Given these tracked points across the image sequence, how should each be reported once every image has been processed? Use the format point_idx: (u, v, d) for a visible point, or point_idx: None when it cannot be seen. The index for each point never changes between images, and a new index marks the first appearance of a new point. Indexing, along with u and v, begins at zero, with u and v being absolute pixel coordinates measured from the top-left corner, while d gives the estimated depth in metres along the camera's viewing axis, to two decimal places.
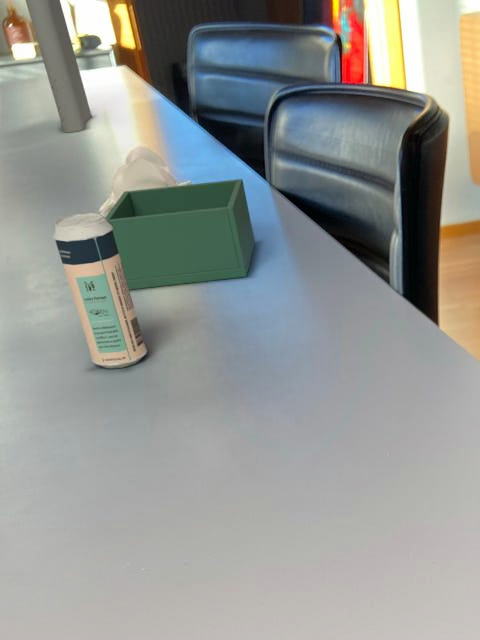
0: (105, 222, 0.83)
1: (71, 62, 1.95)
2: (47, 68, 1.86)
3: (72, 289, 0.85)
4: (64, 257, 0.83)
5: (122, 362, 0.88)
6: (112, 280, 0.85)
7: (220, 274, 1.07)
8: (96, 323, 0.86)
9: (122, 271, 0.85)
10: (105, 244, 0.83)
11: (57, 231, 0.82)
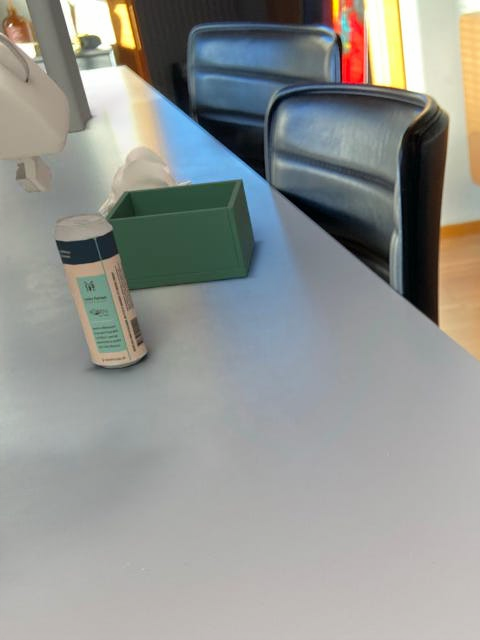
0: (105, 222, 0.83)
1: (71, 62, 1.95)
2: (47, 68, 1.86)
3: (72, 289, 0.85)
4: (64, 257, 0.83)
5: (122, 362, 0.88)
6: (112, 280, 0.85)
7: (220, 274, 1.07)
8: (96, 323, 0.86)
9: (122, 271, 0.85)
10: (105, 244, 0.83)
11: (57, 231, 0.82)
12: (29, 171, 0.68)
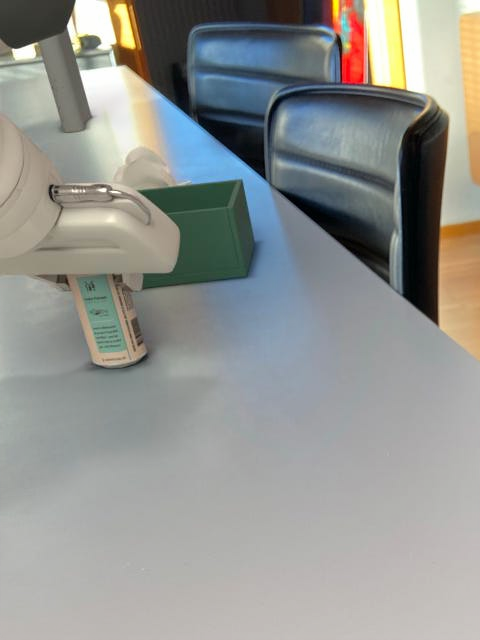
0: None
1: (71, 62, 1.95)
2: (47, 68, 1.86)
3: (72, 289, 0.85)
4: None
5: (122, 362, 0.88)
6: (112, 280, 0.85)
7: (220, 274, 1.07)
8: (96, 323, 0.86)
9: None
10: None
11: None
12: (125, 279, 0.83)
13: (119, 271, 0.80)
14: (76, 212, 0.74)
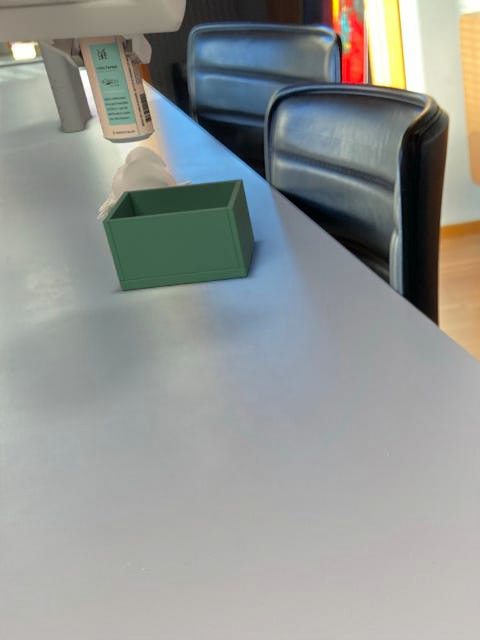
0: None
1: None
2: (47, 68, 1.86)
3: (85, 59, 0.91)
4: None
5: (131, 135, 0.94)
6: (123, 50, 0.90)
7: (220, 274, 1.07)
8: (107, 93, 0.92)
9: None
10: None
11: None
12: (135, 46, 0.89)
13: (129, 30, 0.86)
14: None
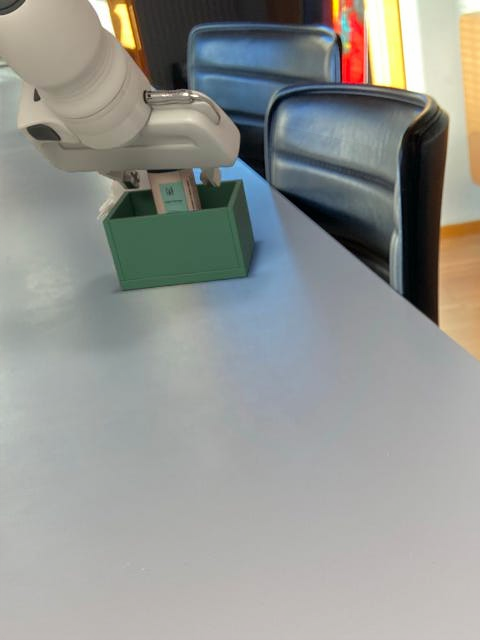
0: None
1: None
2: None
3: (155, 194, 1.07)
4: None
5: None
6: (187, 187, 1.07)
7: (220, 274, 1.07)
8: None
9: (194, 180, 1.08)
10: None
11: None
12: (209, 175, 1.04)
13: (191, 166, 1.02)
14: (163, 113, 0.95)
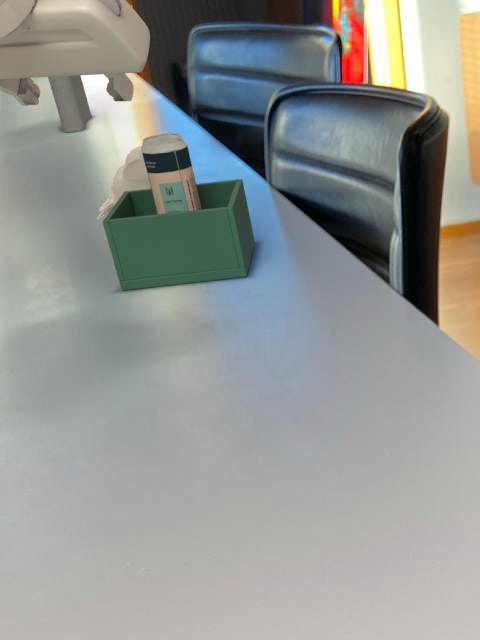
0: (182, 140, 1.05)
1: None
2: None
3: (155, 194, 1.07)
4: (150, 167, 1.05)
5: None
6: (187, 187, 1.07)
7: (220, 274, 1.07)
8: None
9: (194, 180, 1.08)
10: (182, 157, 1.05)
11: (145, 146, 1.04)
12: (117, 84, 0.88)
13: (93, 71, 0.86)
14: (51, 0, 0.79)
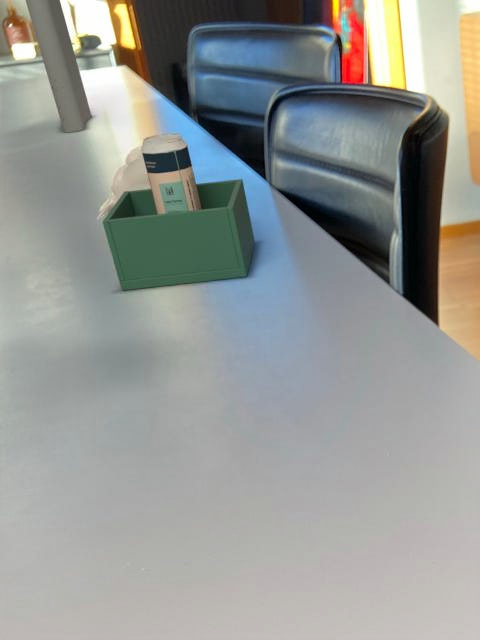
0: (182, 140, 1.05)
1: (71, 62, 1.95)
2: (47, 68, 1.86)
3: (155, 194, 1.07)
4: (150, 167, 1.05)
5: None
6: (187, 187, 1.07)
7: (220, 274, 1.07)
8: None
9: (194, 180, 1.08)
10: (182, 157, 1.05)
11: (145, 146, 1.04)
12: None
13: None
14: None
